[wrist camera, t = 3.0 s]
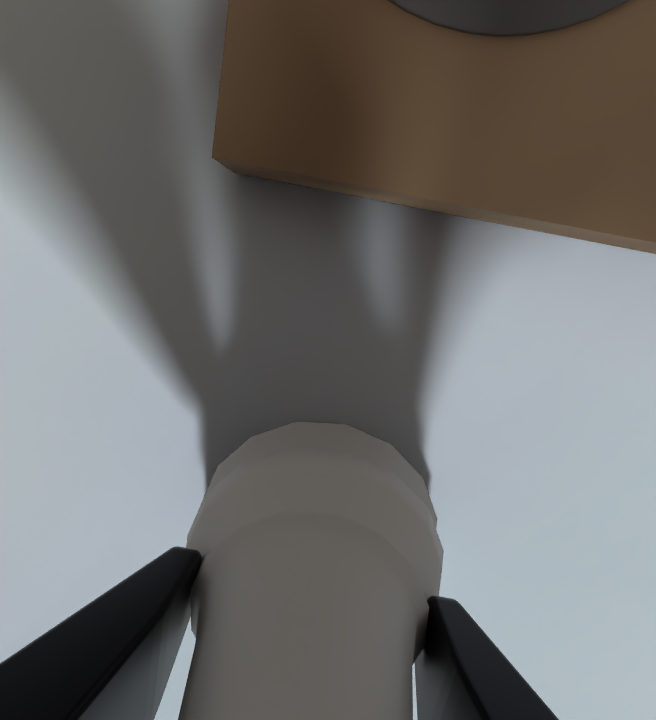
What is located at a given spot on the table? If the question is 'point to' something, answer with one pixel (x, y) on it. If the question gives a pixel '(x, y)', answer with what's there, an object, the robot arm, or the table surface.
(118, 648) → the robot arm
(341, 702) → the rook chess piece
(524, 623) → the table surface
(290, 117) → the board
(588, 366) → the table surface
